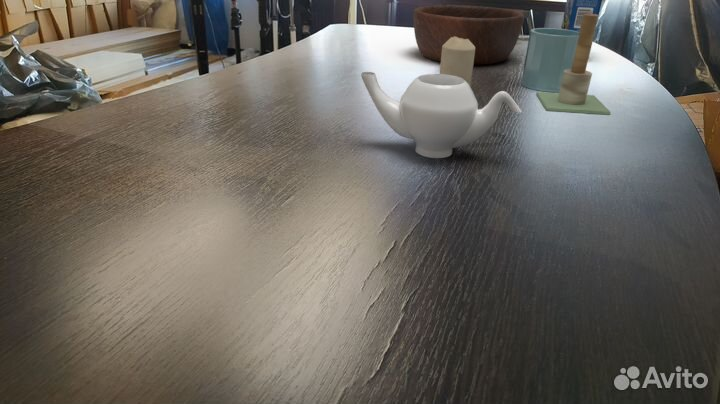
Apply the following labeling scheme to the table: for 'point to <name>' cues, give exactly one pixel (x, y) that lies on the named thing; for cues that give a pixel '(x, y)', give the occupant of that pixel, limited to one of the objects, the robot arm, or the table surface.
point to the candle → (458, 58)
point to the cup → (548, 58)
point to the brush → (579, 65)
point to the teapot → (437, 112)
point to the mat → (553, 104)
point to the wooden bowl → (468, 30)
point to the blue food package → (579, 13)
